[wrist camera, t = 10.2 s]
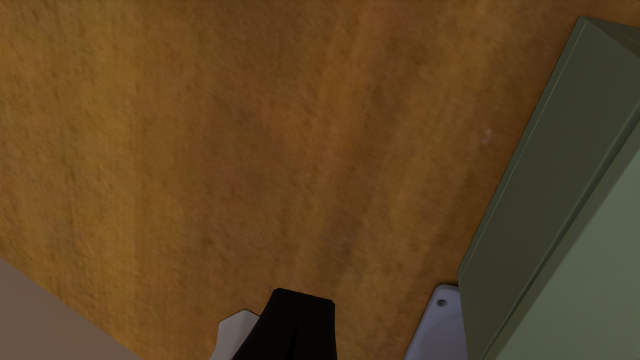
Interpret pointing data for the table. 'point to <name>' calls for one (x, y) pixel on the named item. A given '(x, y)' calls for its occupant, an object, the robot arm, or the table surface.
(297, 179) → the table surface
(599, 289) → the lid
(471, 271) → the chest
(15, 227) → the table surface
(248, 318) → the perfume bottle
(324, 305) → the robot arm
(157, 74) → the table surface
